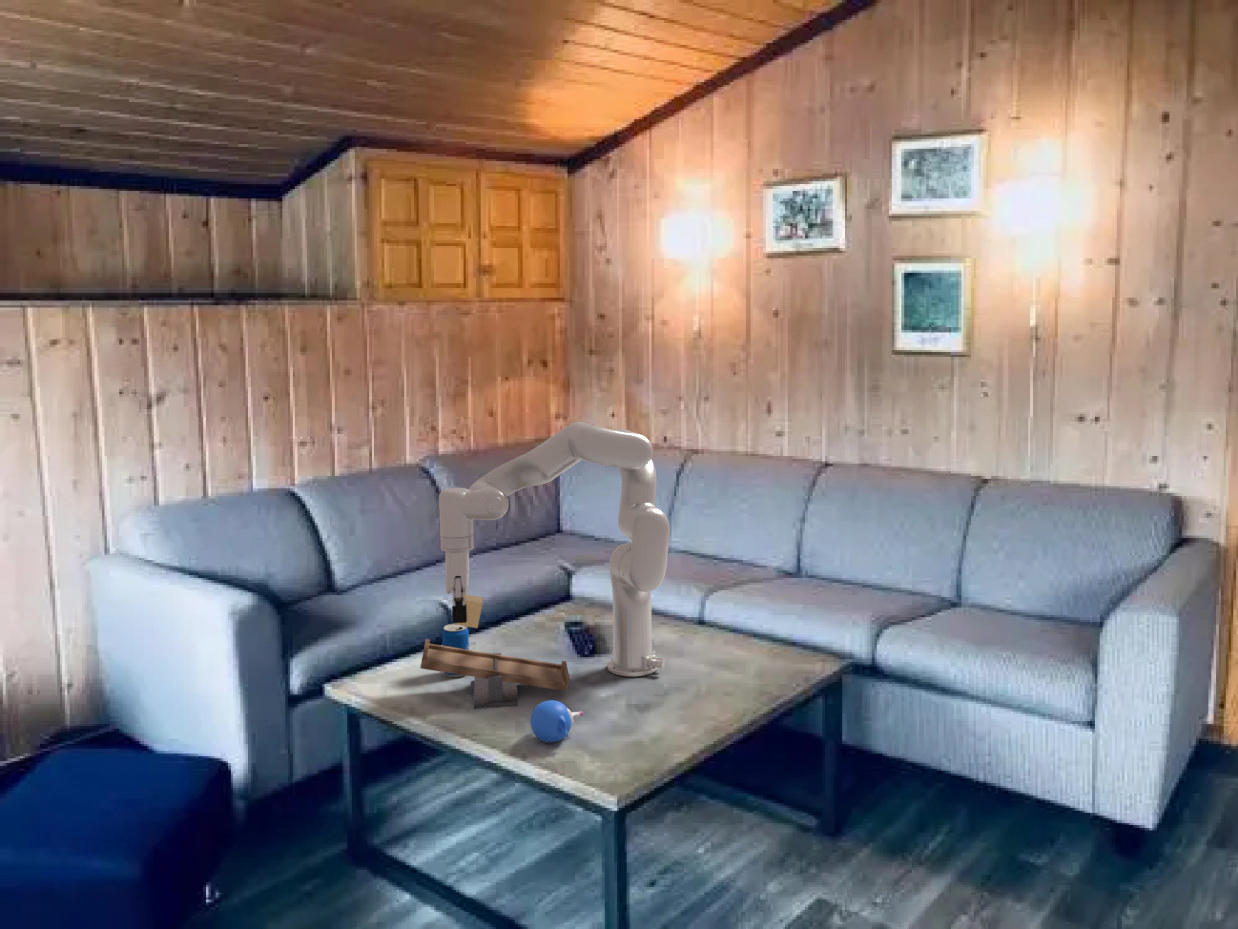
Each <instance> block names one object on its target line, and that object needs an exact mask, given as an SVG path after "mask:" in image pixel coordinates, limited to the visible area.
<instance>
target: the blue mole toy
mask: <svg viewBox="0 0 1238 929" xmlns="http://www.w3.org/2000/svg"><path fill="white" fill-rule="evenodd" d="M583 714H584V712H583V711H581V710H580V711H571V710H570V709H569V708H568V707H567V706H566V705H565V704H564V703H562V702H561V701H558V700H553V699H551V700H545V701H542V702H540V703H539V704H537V705H536V706H535V707H534V709H533V710H532V712H531V715H530V728H531V731H532V733H533V734H534V736H535V737H536V738H537V739H538V740H540V741H542V742H545V743H556V742H559V741H561V740H563V739H564V738H567V737H568V736H569V732H570V730H571V729H572V728H571V727H572V725H573V724H574V722H576V721H577V720H578V718H579V717H581V716H583Z"/></svg>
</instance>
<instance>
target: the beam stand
mask: <svg viewBox="0 0 1238 929" xmlns="http://www.w3.org/2000/svg"><path fill="white" fill-rule="evenodd" d="M493 654H498V655H502V653H501V652H498V653H497V652H496V653H495V652H494V653H493ZM517 684H518V683H511V682H505V681H502V675H492V676H488V679H485V678H479V677H474V684H473V686H474V687H473V709H474V710H475V709H491V708H508V707H509V708H510V707H518V706H519V699H518V685H517Z"/></svg>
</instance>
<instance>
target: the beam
mask: <svg viewBox="0 0 1238 929" xmlns="http://www.w3.org/2000/svg"><path fill="white" fill-rule="evenodd" d="M430 641H431V639H428V638H426V639H425V641H424V647H423V652H422V658H421V663H420V667H419V669H421V670H427V671H428V670H429V671H435V672H442V673H444V672H447V673H453V674H460V675H465V676H466V677H474V678H475V677H479V678H485V679H488V676H492V675H502V681H505V682H511V683H517V684H520V685H525V686H532V687H537V688H544V689H551V690H558V691H564V692H567V691H568V689H569V684H570V680H571V678H570V674H569V668H568V664H567V661H566V660H561V662H560V663H561V664H560V663H554V662H547V661H543V660H542V661H541V660H534V659H529V658H523V657H522V658H521V657H516V656H510V655H505V654H504V655H503V654H501V655H498V654H494V653H490V652H485V651H477V650H472V649H471V650H470V649H469V650H466V649H460V648H454V647H448V646H443V645H440V644H434V643H430Z"/></svg>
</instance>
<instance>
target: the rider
mask: <svg viewBox="0 0 1238 929" xmlns="http://www.w3.org/2000/svg"><path fill="white" fill-rule="evenodd" d="M461 597H462V598H463V595H461ZM483 598H484V597H482V596H478V595H472V594H467V593H466V594H465V605H466V611H467V622H466V623H455V624H456V625H461V626H467V628H468V627H469V628H474V629H478V627H479V623H480V618H481V614H482V608H483V604H484V603H483Z"/></svg>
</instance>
